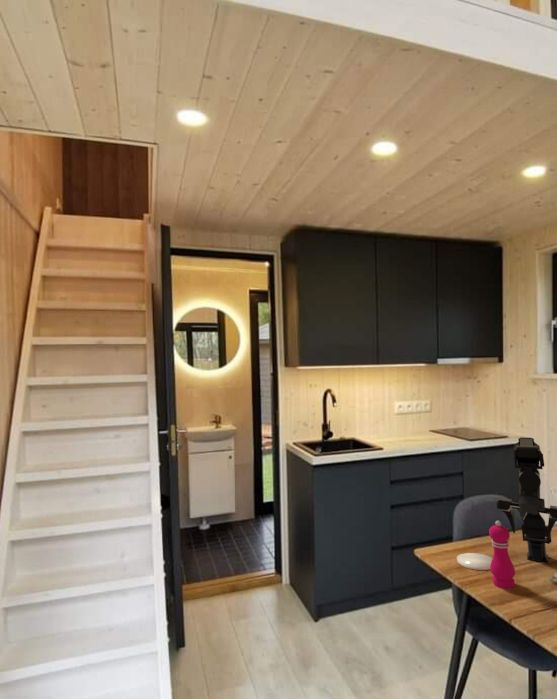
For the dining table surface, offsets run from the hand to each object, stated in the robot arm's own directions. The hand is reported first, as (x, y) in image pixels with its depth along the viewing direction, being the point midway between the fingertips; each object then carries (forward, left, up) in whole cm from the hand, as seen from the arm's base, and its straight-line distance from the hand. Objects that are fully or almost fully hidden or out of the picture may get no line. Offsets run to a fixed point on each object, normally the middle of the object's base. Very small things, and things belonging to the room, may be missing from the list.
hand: (530, 536), depth 137 cm
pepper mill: (+2, -9, -16) cm, 18 cm away
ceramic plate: (-12, -19, -16) cm, 27 cm away
